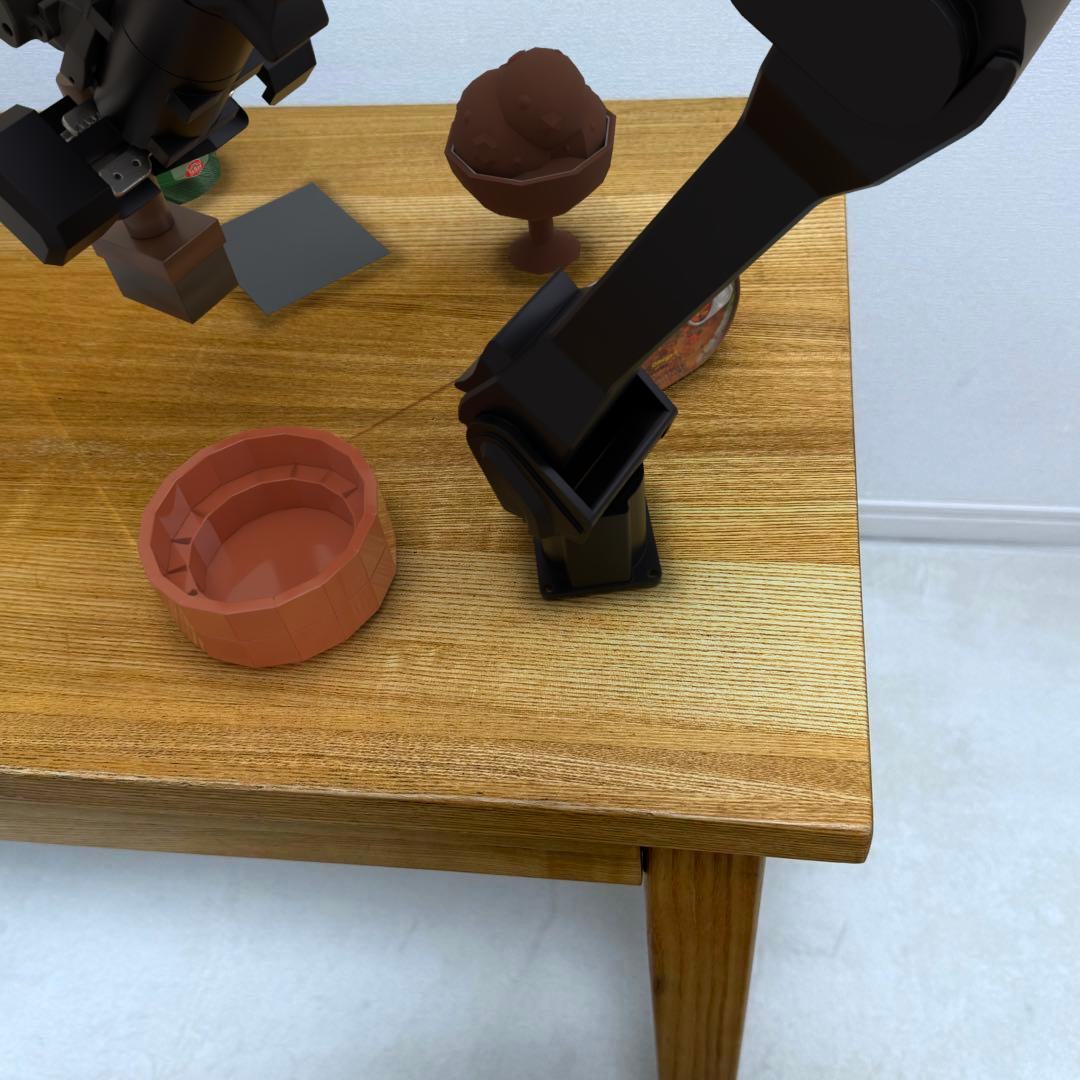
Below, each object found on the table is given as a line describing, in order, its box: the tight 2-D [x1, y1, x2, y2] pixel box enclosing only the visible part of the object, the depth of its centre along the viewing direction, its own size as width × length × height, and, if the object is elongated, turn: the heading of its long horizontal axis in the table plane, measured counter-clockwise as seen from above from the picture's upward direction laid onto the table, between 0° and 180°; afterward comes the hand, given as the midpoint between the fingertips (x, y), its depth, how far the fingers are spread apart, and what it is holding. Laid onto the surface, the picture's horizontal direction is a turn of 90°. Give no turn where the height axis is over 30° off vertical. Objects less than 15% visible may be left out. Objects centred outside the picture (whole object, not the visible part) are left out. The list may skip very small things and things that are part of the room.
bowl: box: [136, 424, 398, 669], centre depth 57 cm, size 12×12×6 cm
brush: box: [55, 71, 239, 325], centre depth 59 cm, size 6×4×14 cm
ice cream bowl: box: [443, 46, 617, 276], centre depth 69 cm, size 11×11×15 cm
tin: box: [581, 275, 742, 391], centre depth 63 cm, size 15×3×8 cm, turn 126°
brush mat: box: [220, 182, 392, 316], centre depth 78 cm, size 12×10×1 cm
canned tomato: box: [156, 151, 222, 206], centre depth 81 cm, size 8×8×11 cm
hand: (119, 186), depth 59 cm, fingers closed on brush, 2 cm apart
